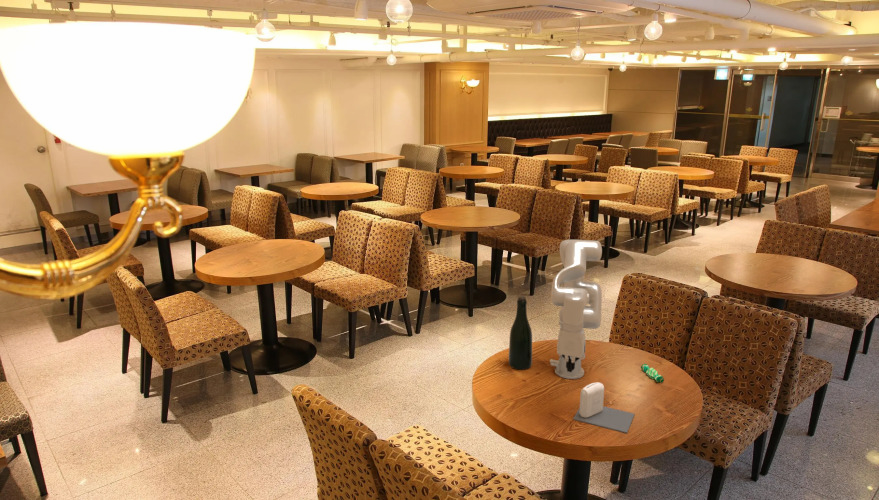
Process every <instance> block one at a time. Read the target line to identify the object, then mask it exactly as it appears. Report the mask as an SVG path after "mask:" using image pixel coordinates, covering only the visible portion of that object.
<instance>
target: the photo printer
mask: <svg viewBox="0 0 879 500" xmlns="http://www.w3.org/2000/svg"><path fill="white" fill-rule="evenodd" d="M579 395H580V396H579V408H580V410H579V413H580V415H581V416H582V417H584V418H587V417H590V416H592V415H595V414H597V413H599V412H601V411H602V410H603V406H604V397H605V386H604V384H603V383H602V382H600V381H599V382H598V381H597V382H592V383H588V384H587V385H586V386H584V387H583V388H582V389H581V391H580V394H579Z"/></svg>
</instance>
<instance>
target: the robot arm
mask: <svg viewBox="0 0 879 500" xmlns="http://www.w3.org/2000/svg"><path fill="white" fill-rule="evenodd" d="M602 254H603V248H602V244H601V242H600V241H599V240H589V239H565V240H562V241H561V242H560V244H559V256H560V260H561V263H562V265H563V266H562V267H563V268H562V269H561V270H560V271H559V272H558V273H556V274H555V276H554V278H553V280H552V283H551V284H552V285H551V293H550V295H551V297H550V298H551V302H552V304H553V305H554V306H556V307H560V309H559V311H558V312H559V313H558V319H559V320H558V325H559V332H558V335H557V344H556V353H557V355H558V356H559V357H558V359H557V360H556V359H551V358H550V360H549V364H550V366H551V367H555V368H554V372H555V374H556V375H557V376H558V377H561V378H563V379H568V380H577V379H581V378H582V377H583V376H584V375H585V369H584V368H583V367H582V360H585V358H586V350H587V349H586V347H587V346H586V332H585V330H584V329H589V330H590V329H591V330H592V329H593V330H594V329H595V330H596V329H598V328H600V326H601V323H602V297H603V296H602V287H601V285H600V283H599V282H596V281H587V280H585V274H586V272H587V261H588V262H599V261H601V258H602ZM562 285H563V286H562Z"/></svg>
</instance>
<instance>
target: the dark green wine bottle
mask: <svg viewBox="0 0 879 500" xmlns="http://www.w3.org/2000/svg"><path fill="white" fill-rule="evenodd" d="M527 304H528V300H527V297H526V296H523V295H521V296H518V297H517V299H516V312H515V318H514V321H513V323H512V325H511V328H510V331H509V343H508V344H509V345H508V346H509V347H508V349H509V350H508V365H509V366H510V367H511V368H513V369H515V370H527V369H529V368H531V367H532V364H533V333H532V332H533V331H532V327H531V324H530V322H529V319H528V313H527Z"/></svg>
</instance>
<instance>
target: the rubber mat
mask: <svg viewBox="0 0 879 500" xmlns="http://www.w3.org/2000/svg"><path fill="white" fill-rule="evenodd" d="M579 410H580V407H579V408H578V410H577V411H576V413H575V415H574V417H573V418H572V419H573V421H577V422H581V423H585V424H588V425H593V426H597V427H600V428H604V429H608V430H612V431H614V432H615V431H616V432H619V433H623V434H628V432H629V429H630V427H631V425H632V422H633V421H634V418H635V413H633V412H629V411H625V410H620V409H617V408H612V407H608V406H604V405H603V410H602V411H601V412H599V413H597V414H595V415H592V416H590V417H587V418H584V417H582V416H581V415H580V413H579Z"/></svg>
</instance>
